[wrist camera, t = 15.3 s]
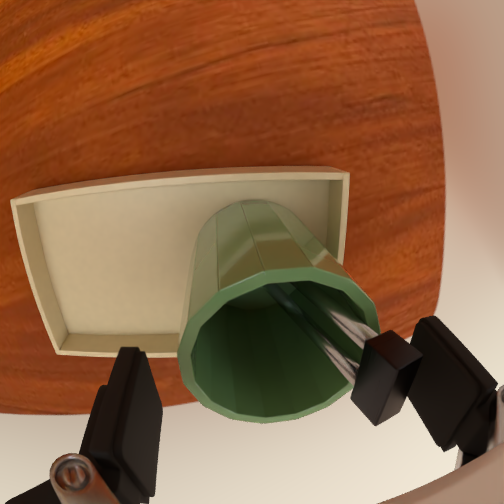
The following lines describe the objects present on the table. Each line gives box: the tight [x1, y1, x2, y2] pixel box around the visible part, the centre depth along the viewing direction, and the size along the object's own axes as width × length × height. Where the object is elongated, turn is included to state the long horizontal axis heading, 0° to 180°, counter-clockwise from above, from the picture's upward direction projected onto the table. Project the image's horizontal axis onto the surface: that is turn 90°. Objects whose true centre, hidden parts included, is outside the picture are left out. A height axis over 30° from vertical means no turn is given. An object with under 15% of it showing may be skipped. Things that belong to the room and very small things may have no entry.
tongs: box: [262, 280, 423, 426], centre depth 13 cm, size 1×3×11 cm, turn 2°
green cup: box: [177, 200, 381, 423], centre depth 14 cm, size 7×7×9 cm
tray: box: [10, 166, 350, 357], centre depth 17 cm, size 19×11×3 cm, turn 91°
